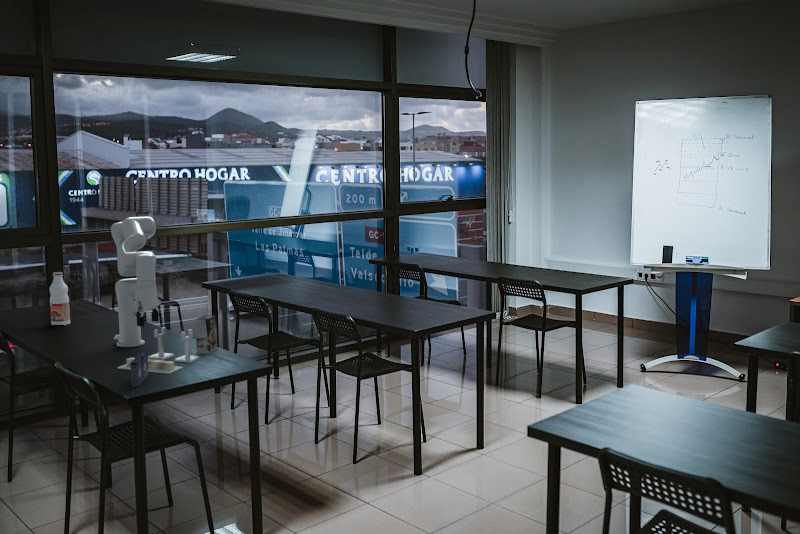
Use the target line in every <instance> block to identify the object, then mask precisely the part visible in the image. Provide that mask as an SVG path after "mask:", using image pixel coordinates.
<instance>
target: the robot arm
mask: <svg viewBox="0 0 800 534" xmlns="http://www.w3.org/2000/svg"><path fill="white" fill-rule="evenodd" d="M156 226H157V225H156V221H155V220H154V218H152V217H151V216H132V217H131V216H130V217H126V218H125V219H123V220H122V221H119V222H115V223H112V225H111V228H110V232H111V237H112V238H113V241H114V243H115V246H116V258H117V260H116V261H117V272H118V274H119V275H120V276H122V277H133V278H121V279H119V280H118V281H116V283H115V287H114V288H115V289H114V290H115V294H116V301H117V308H118V326H119V328H118V329H119V334H115V335H114V336H113V340H117V342H116V346H117V347H119V348H120V347H121V348H135V347H140V346H143V345H145V344H146V343H145V340H143V339H142V333H141V332H142V331H141V327H145V317H144V314H145V313H146V312H149V311H151V314H150V315H151V321H152V322H159V321H160V316H159V313H160V309H161V306H162V305H161V303H162V300H161V299H159V295H158V290H157V289H158V288H157V283H156V281H157V280H156V264H157V257H156V254H154V252H153V251H149V250H145V251H138V250H141V249H142V248H143V247H145V245H146V242H147V240H149V239H151V238H152V237H153V236H155V234H156V230H157V227H156ZM135 277H136V278H135Z"/></svg>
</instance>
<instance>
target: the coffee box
mask: <svg viewBox="0 0 800 534" xmlns="http://www.w3.org/2000/svg"><path fill="white" fill-rule="evenodd" d="M217 337H218V336H217V315H202V316H199V317H196V318H195V342H196V344H195V345H196V346H195V347H196V350H195V351H196V354H200V355H201V354H202V355H210V354H212V353H214V352H215V351H218V340H217Z"/></svg>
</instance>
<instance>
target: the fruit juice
mask: <svg viewBox="0 0 800 534" xmlns="http://www.w3.org/2000/svg"><path fill="white" fill-rule="evenodd" d="M52 276H53V280H52V283H51V284H50V286H49V293H50V297H49V309H50V323H51V326H53V325H64V326H68V325H70V324H71V311H70V309H71V308H70V297H69V295H68V291H69V287H68V285H67V284H66V283H65V281H64V278H63V276H64V274H63V272H62V271H57V272H53V273H52ZM67 324H68V325H67Z"/></svg>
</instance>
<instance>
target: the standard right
mask: <svg viewBox="0 0 800 534" xmlns="http://www.w3.org/2000/svg"><path fill="white" fill-rule="evenodd" d="M187 333H188V334H187V335H186V331H181V332H180V339H181V340H182V341H184V355H181V356H179V357H176V358H174V362H179V363H189V364H191V363H194V362H196V361H198V360H201V359H202V356H201V355H200V356H199V355H191V338H193V337H194V335H193V333H194V331H193V329H188V330H187Z"/></svg>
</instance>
